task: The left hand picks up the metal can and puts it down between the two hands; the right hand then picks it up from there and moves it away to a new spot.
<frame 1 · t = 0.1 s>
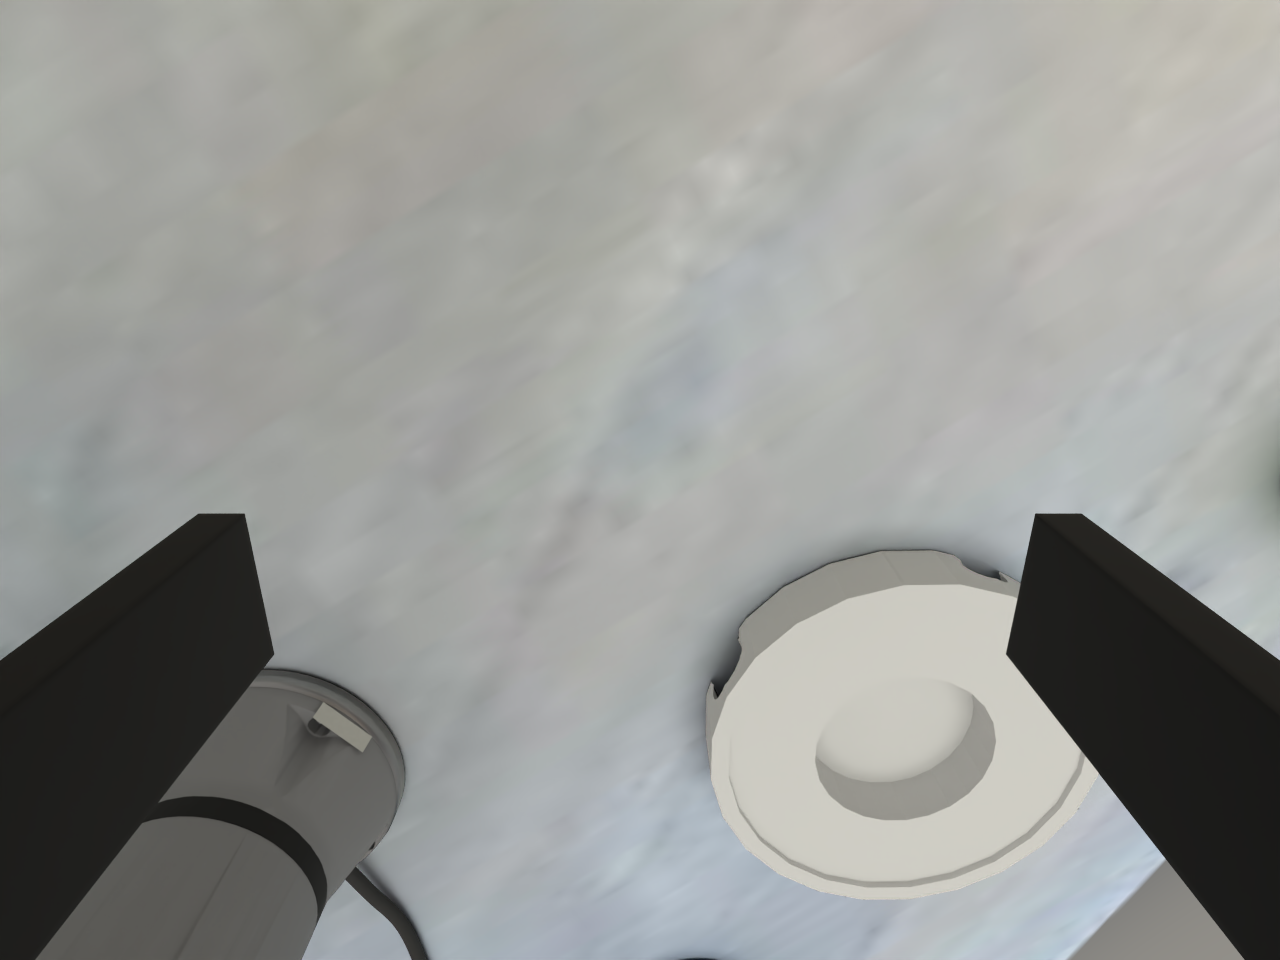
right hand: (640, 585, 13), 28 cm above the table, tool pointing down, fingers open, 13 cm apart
white notched ring base: (885, 710, 48), on the table
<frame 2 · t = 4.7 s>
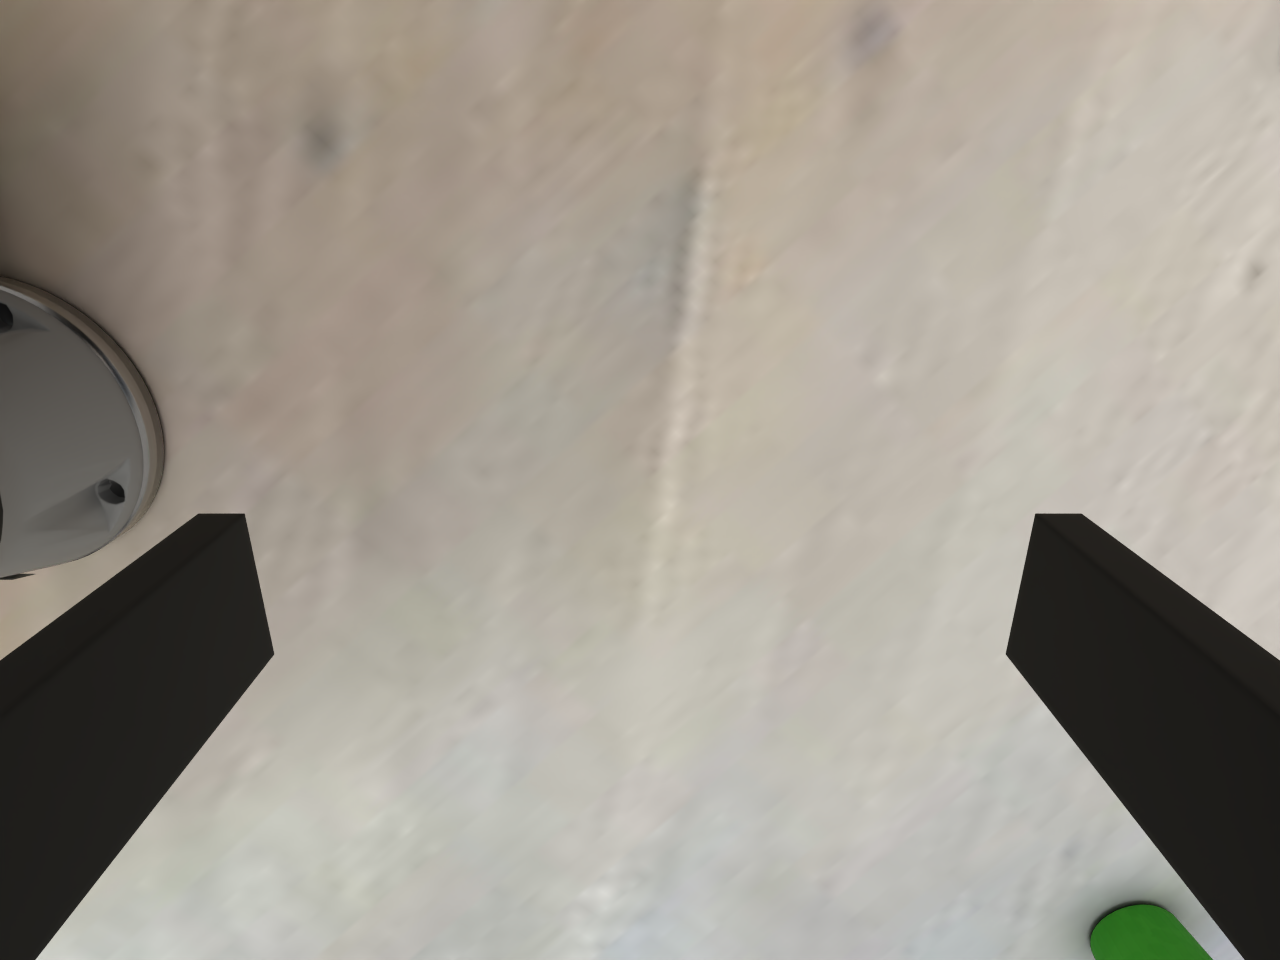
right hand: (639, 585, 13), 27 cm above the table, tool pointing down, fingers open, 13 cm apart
potted flower: (1127, 930, 53), on the table
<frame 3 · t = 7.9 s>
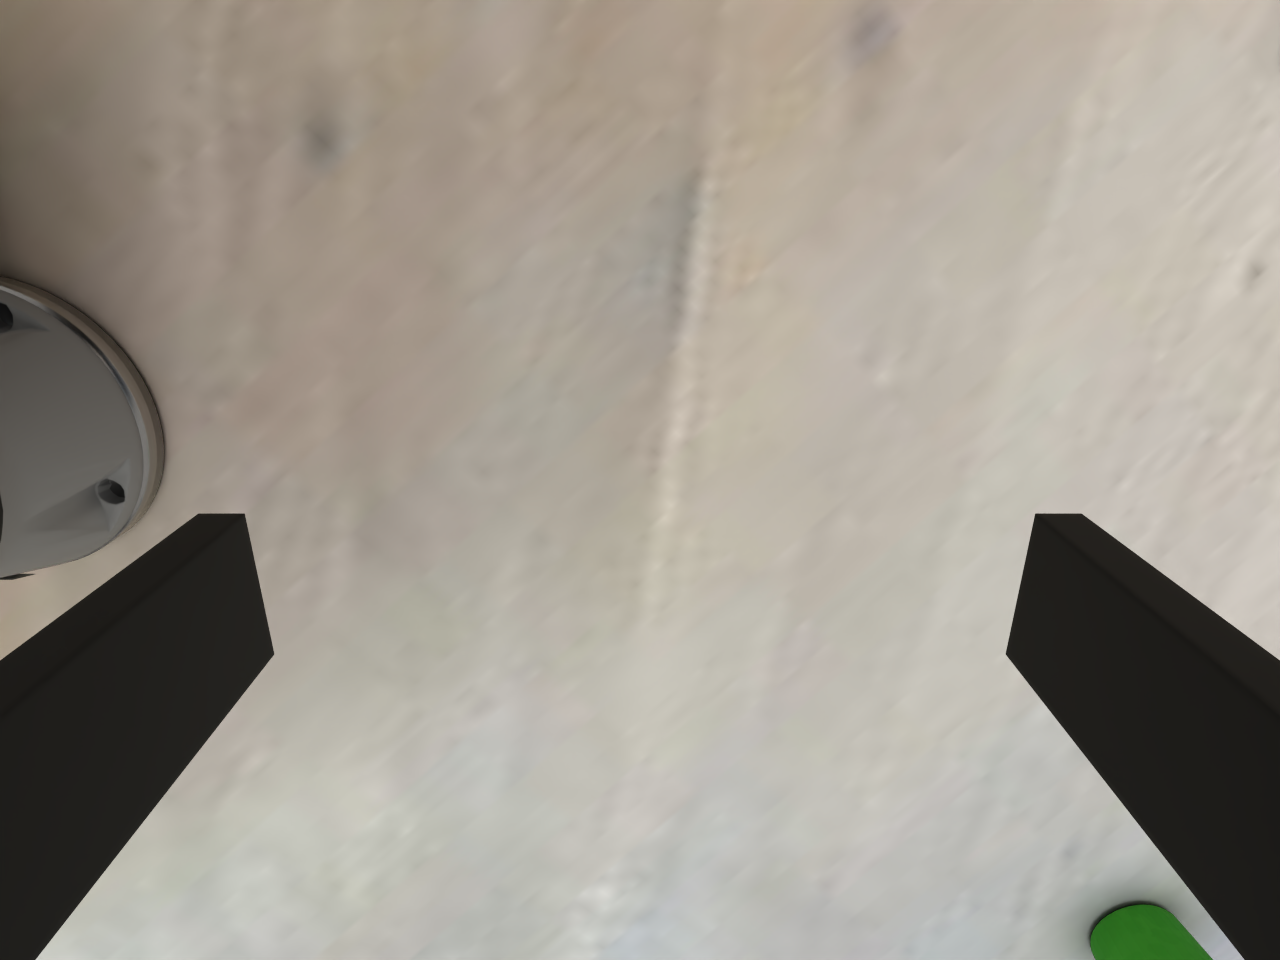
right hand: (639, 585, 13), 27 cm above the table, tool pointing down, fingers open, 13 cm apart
potted flower: (1127, 930, 53), on the table
when the left hand's fingers open (3 cm above the table, at t = 11.6 s): can stays where it is, on the table.
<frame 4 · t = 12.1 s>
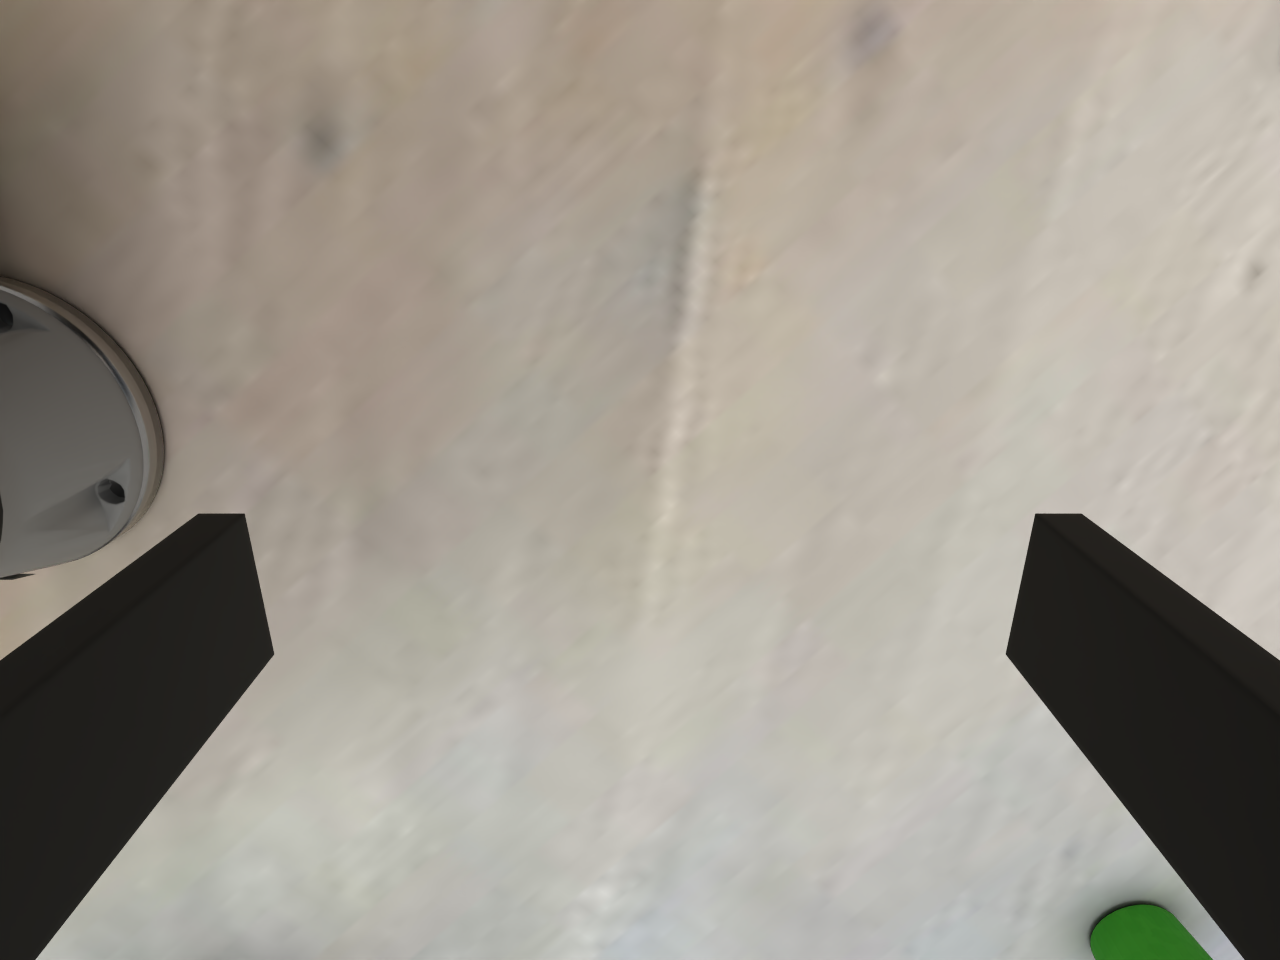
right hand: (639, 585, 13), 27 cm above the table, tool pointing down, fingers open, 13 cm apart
potted flower: (1127, 930, 53), on the table
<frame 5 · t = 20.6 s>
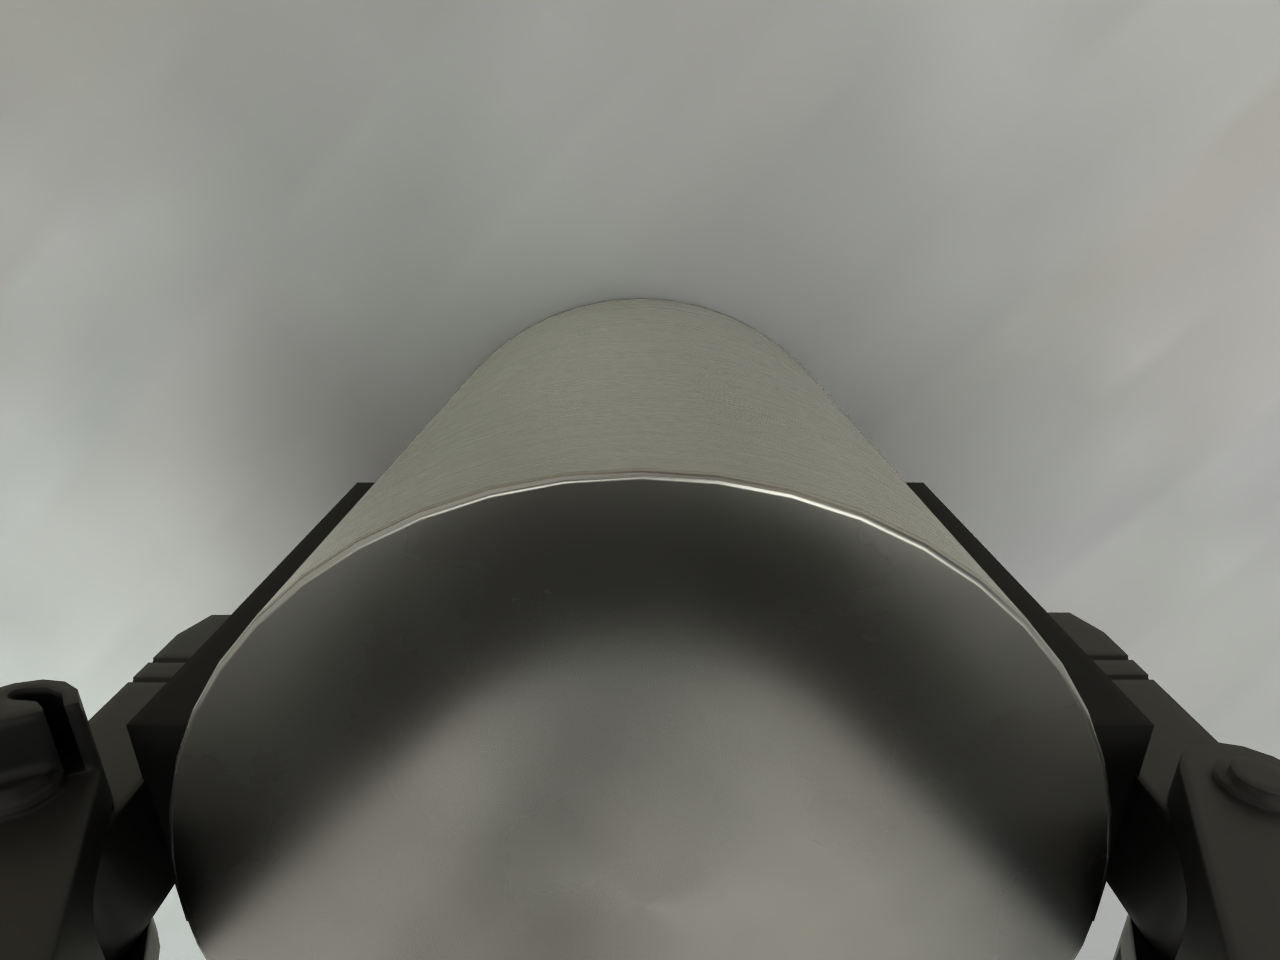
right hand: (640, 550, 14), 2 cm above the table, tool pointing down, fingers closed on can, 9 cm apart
can: (640, 512, 15), on the table, touching right hand
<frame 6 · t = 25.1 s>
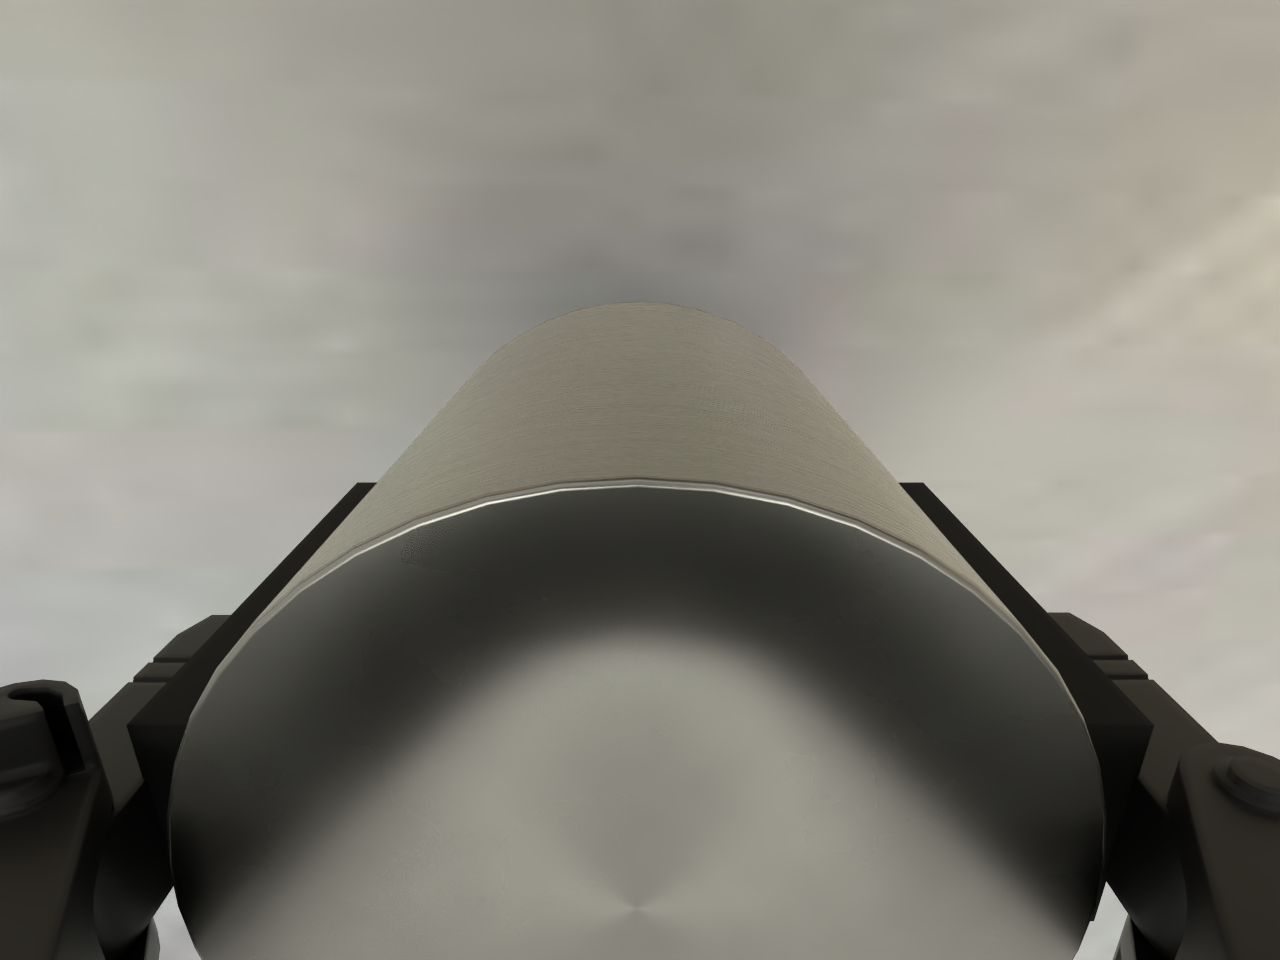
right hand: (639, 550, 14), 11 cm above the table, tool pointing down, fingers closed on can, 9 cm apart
can: (638, 515, 15), point 9 cm above the table, touching right hand
when the right hand's fingers open (3 cm above the table, at t = 30.0 s): can stays where it is, on the table.
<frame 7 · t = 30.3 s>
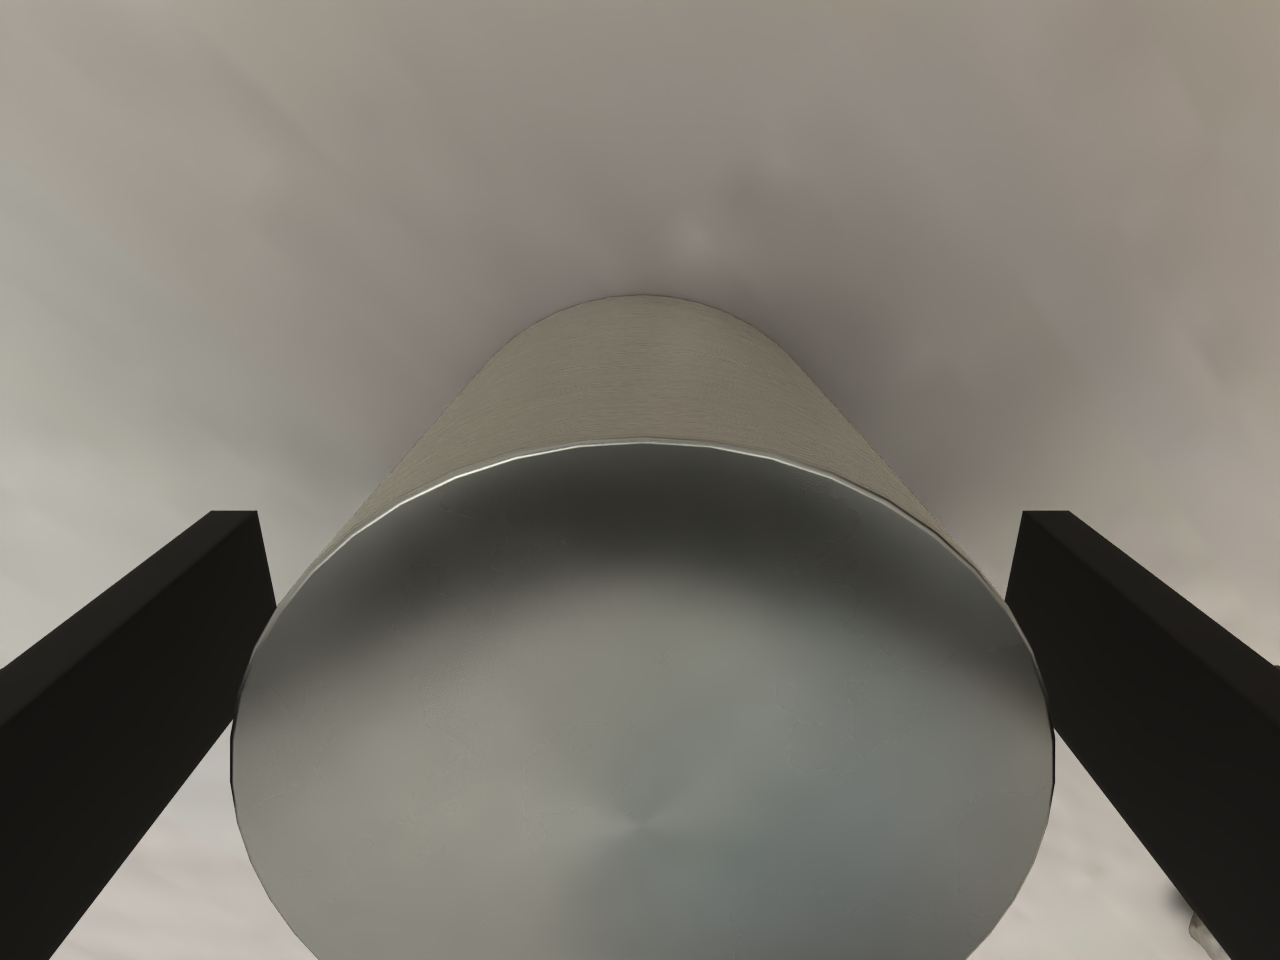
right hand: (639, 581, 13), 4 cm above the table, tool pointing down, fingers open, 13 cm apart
can: (641, 497, 16), on the table
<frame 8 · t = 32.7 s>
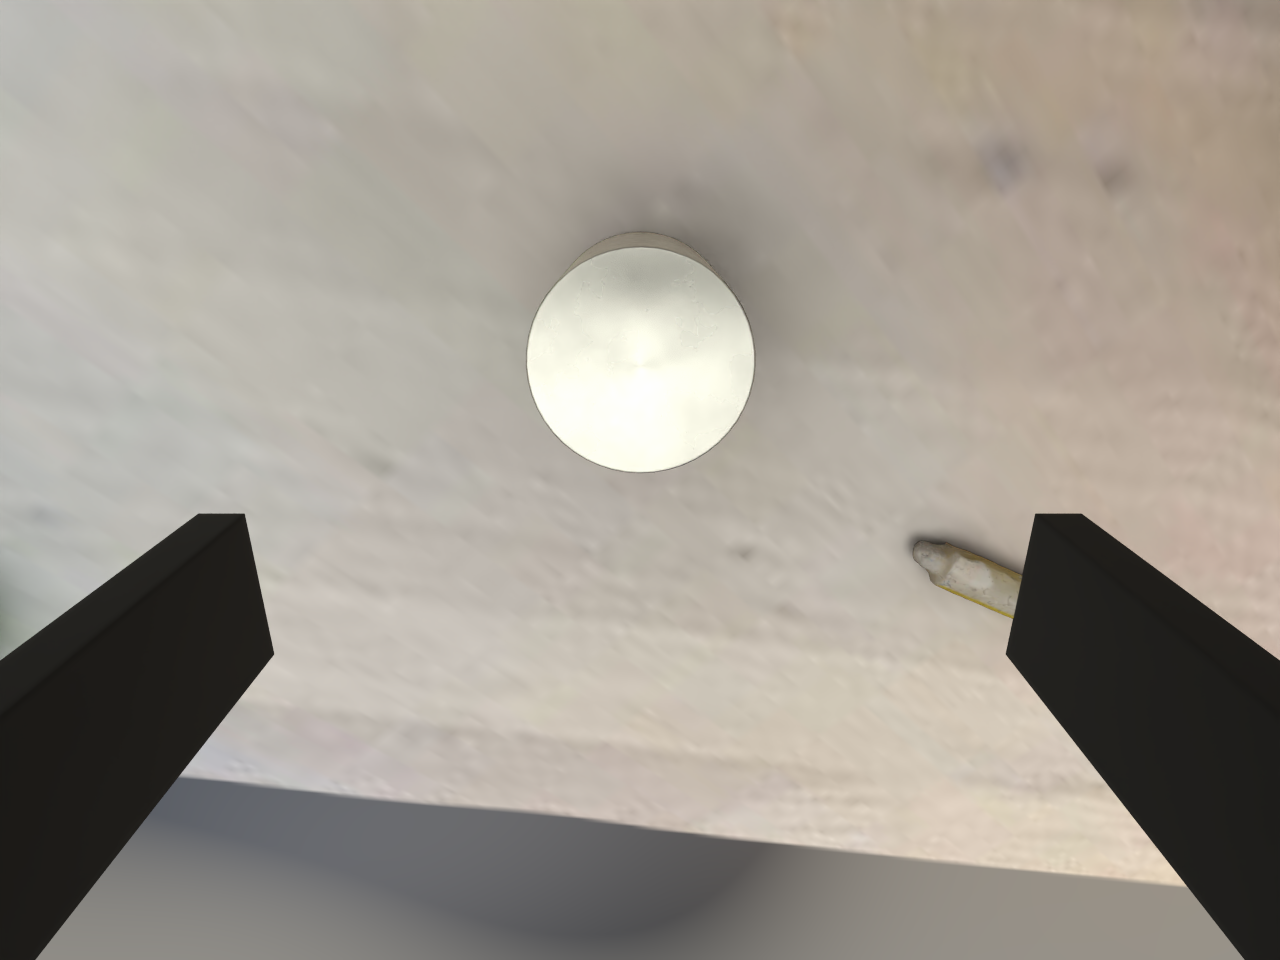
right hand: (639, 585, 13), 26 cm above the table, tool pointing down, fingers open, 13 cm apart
syringe: (1102, 622, 43), on the table
can: (640, 325, 37), on the table
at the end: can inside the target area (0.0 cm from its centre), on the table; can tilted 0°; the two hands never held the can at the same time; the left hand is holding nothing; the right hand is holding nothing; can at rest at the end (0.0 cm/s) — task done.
